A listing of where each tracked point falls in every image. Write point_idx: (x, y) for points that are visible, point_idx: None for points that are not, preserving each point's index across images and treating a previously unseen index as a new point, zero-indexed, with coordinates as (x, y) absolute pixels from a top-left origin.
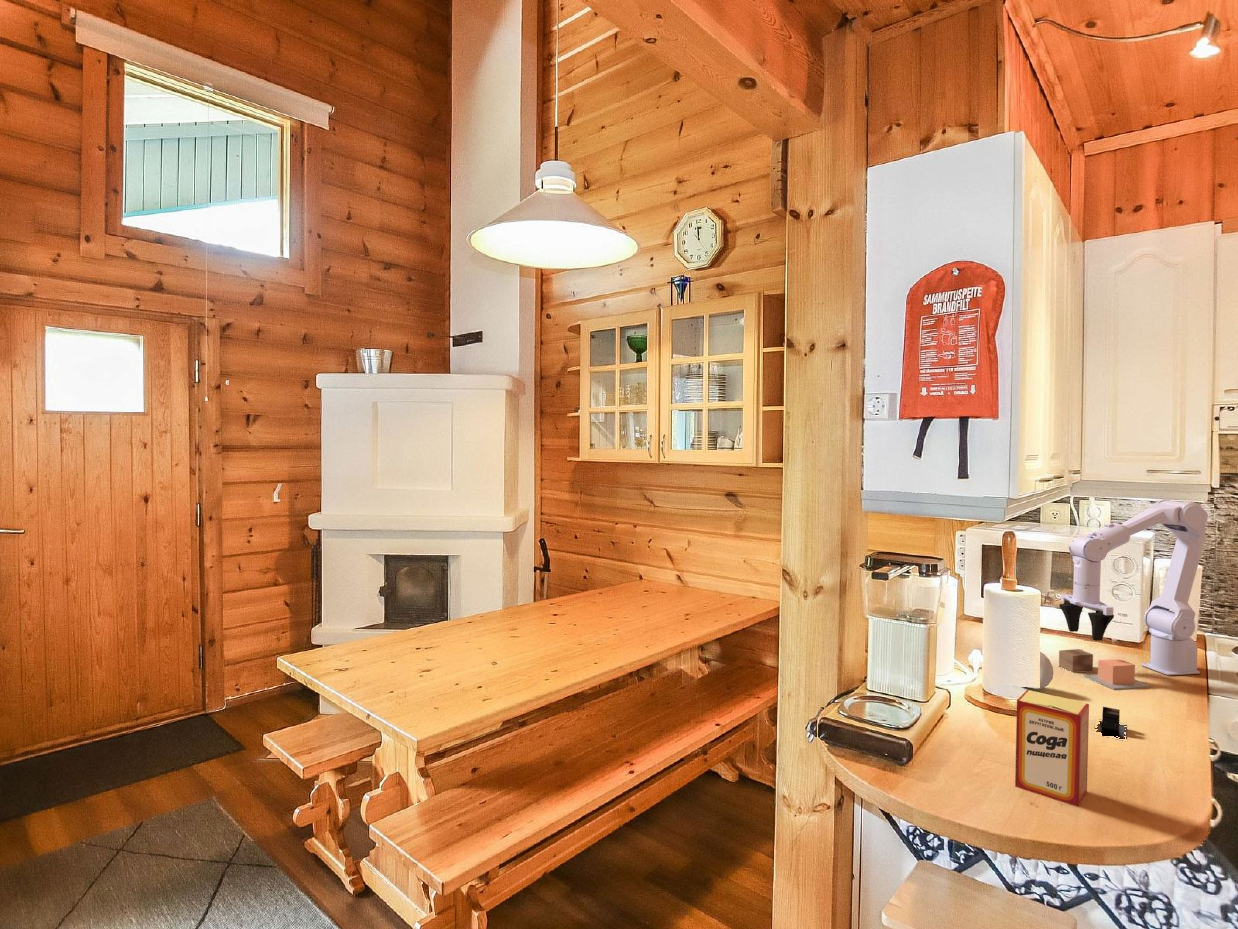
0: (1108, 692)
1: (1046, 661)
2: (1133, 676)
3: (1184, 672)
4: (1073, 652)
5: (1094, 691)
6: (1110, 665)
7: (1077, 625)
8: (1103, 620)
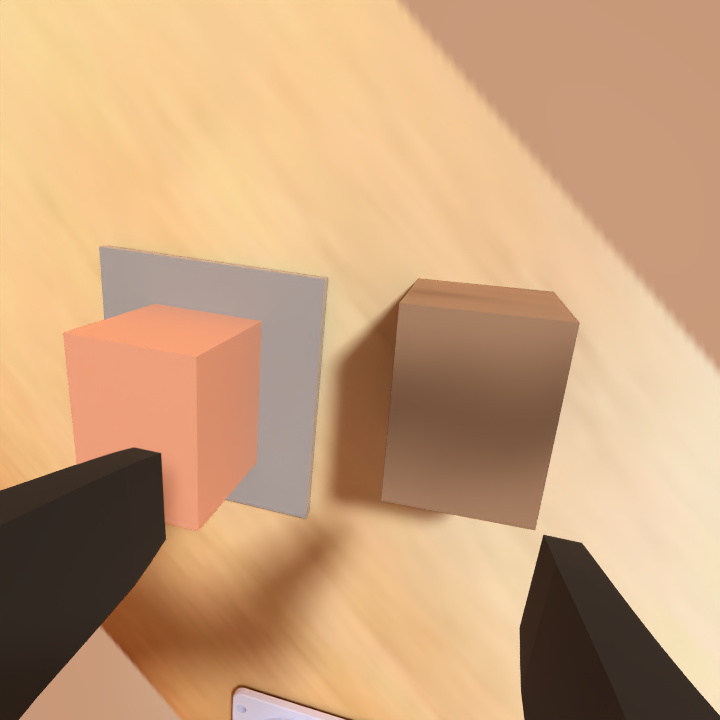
0: (77, 176)
1: None
2: None
3: None
4: (476, 398)
5: (96, 97)
6: (85, 335)
7: (531, 712)
8: None
